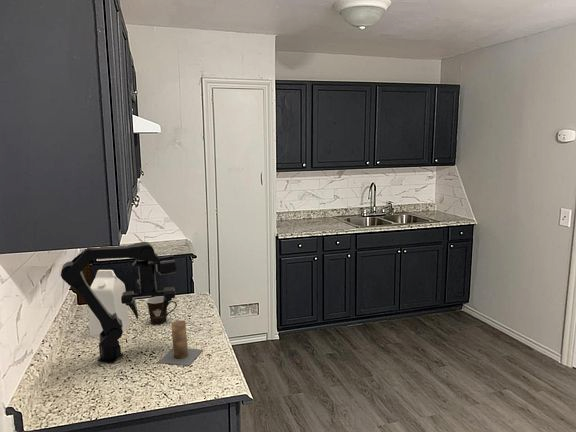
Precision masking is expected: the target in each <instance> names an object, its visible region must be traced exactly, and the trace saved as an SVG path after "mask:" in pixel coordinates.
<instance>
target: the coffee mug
mask: <svg viewBox="0 0 576 432" xmlns="http://www.w3.org/2000/svg"><path fill="white" fill-rule="evenodd" d="M163 298H164V296H158V297H149V298H148V299H147V300H146V304H147V308H148V309H147V310H148V314H149V319H150V323H151V324H152V325H156V326H157V325H163V324H165V323H166V322H167V318H168V317H167V316H168V315H170V314H171V313H172V312H174V311H175V310H176V308H178V307H177V305H178V304H177V302H176V301H173V300H171V301H169V302H168V304H167V307H166V310H165V314H164V316H163ZM171 303H174V304H175V307H173V309H171V310H170V311H169V312H168V306H169V304H171Z"/></svg>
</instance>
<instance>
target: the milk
mask: <svg viewBox="0 0 576 432" xmlns="http://www.w3.org/2000/svg"><path fill="white" fill-rule="evenodd" d="M90 288H91V289H92V291H93V292H94V293H95V295H96V296H97V297H98V299H99V300H100V301H101V303H102V304H103V306H104V307H105V308H106V310H107V311H108V312H109V313H110V314H112V315H113V314H114V313H116V314H117V316H118V318H119V319H120V320H122V326H123V327H122V330H123V332H125V331H126V330H127V329H128V328H130V326H132V325H131V319H130V317H131V316H130V312H129V310H130V309H129V306H128V305H127V306H126V304H122V302H121V296H122V293H123V292H127V291H126V285H125V283H124V282H123V281H122V280H121V279H120V278H118V277H117V275H116V274H115V272H114V270H113V269H98V270H97V272H96V274H95V278H94V279H93V281H92V283H91V285H90ZM88 322H89V337H100V333H101V332H102V331H103V329H102V326H101V324H100V321H99V320H98V318H97V317H96V316H95V314H94V313H93V312H92V310H91V309H90V308H89V307H88Z"/></svg>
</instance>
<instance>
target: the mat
mask: <svg viewBox="0 0 576 432" xmlns="http://www.w3.org/2000/svg"><path fill="white" fill-rule="evenodd" d="M187 349H188V356H187V357H186V358H183V359H175V358H174V352H173V347H172V348H171V349H170V350H169V351H168V352H167V353H166V354H165V355H164V356H163V357H162V358H161V359H159V360H158V361H157V364H165V365H174V366H175V365H176V366H184V367H189V366H191V365H192V364H193V362H194V361H196V359H197V358H198V357H199V356H200V355H201V354H202V352H204V349H199V348H191V347H190V348H188V347H187Z"/></svg>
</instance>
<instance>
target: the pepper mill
mask: <svg viewBox="0 0 576 432" xmlns="http://www.w3.org/2000/svg"><path fill="white" fill-rule="evenodd" d="M170 326H171V338H172V348H173V352H174V358H175V359H183V358H186V357H187V356H188V349H187V348H188V340H187V339H188V338H187V336H188V335H187V325H186V321H184V320H182V319H181V320H174V321H172V322H171V325H170Z"/></svg>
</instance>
